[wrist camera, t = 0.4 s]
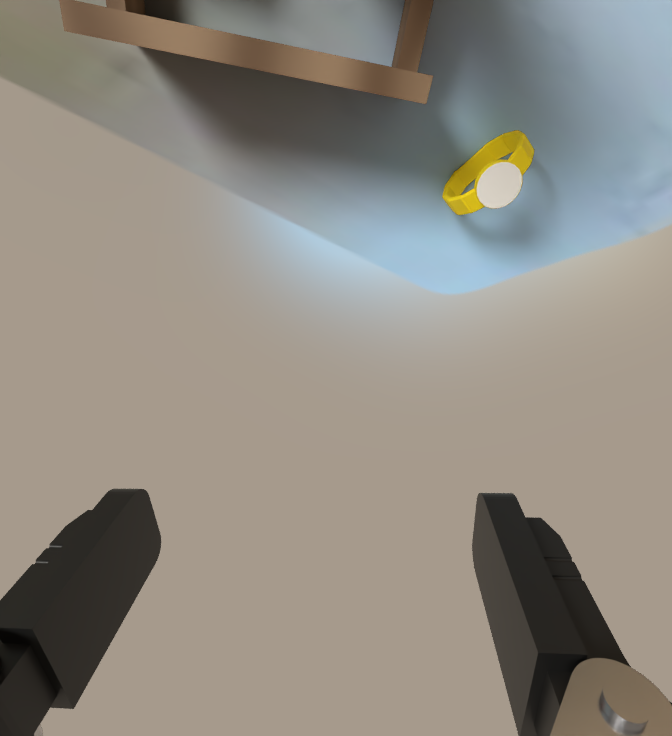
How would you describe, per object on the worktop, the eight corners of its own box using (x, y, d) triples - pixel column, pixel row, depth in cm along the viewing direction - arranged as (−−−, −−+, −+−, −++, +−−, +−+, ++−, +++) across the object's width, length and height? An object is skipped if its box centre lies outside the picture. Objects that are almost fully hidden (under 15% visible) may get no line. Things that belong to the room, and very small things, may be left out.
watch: (452, 206, 33) (467, 236, 28) (431, 178, 31) (443, 205, 27) (524, 147, 30) (554, 170, 25) (503, 114, 29) (531, 131, 24)
